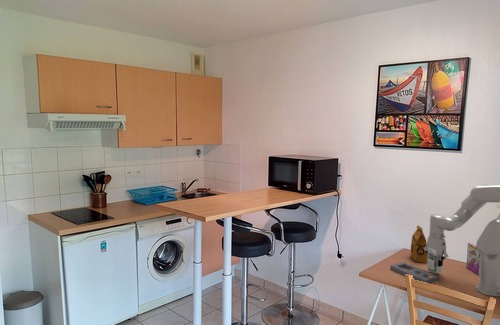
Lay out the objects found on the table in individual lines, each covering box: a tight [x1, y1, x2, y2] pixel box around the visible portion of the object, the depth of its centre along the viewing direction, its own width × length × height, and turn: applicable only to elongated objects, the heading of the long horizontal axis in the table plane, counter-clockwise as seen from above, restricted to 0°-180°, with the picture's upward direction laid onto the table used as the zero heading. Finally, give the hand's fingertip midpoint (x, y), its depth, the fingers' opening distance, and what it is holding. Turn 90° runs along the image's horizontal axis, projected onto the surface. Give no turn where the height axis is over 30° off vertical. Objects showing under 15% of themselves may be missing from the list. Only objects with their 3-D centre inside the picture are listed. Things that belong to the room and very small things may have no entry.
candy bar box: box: [466, 242, 482, 276], centre depth 207 cm, size 11×5×16 cm, turn 1°
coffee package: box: [410, 225, 428, 264], centre depth 225 cm, size 10×12×22 cm
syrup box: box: [426, 248, 443, 274], centre depth 203 cm, size 6×6×14 cm
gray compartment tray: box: [390, 261, 440, 284], centre depth 202 cm, size 24×12×3 cm, turn 26°
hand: (435, 264), depth 204 cm, fingers closed on syrup box, 6 cm apart
